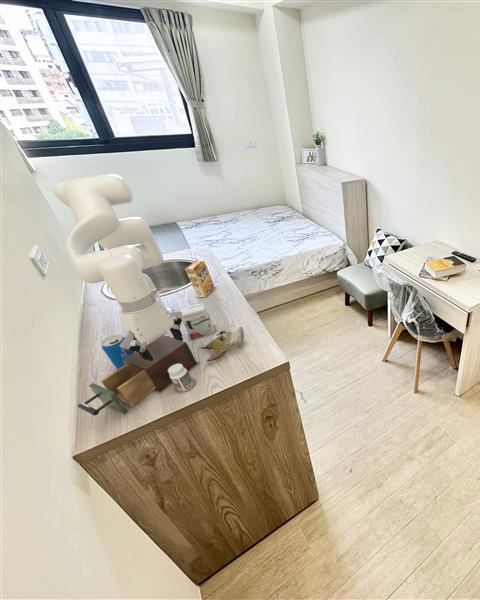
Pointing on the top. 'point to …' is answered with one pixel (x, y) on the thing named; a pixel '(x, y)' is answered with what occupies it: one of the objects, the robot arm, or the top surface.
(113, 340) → the beverage can
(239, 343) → the ceramic sculpture
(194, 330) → the ink box
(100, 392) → the drawer
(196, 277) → the candy box
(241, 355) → the top surface
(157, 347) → the cabinet
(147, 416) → the top surface
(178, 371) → the pill bottle
